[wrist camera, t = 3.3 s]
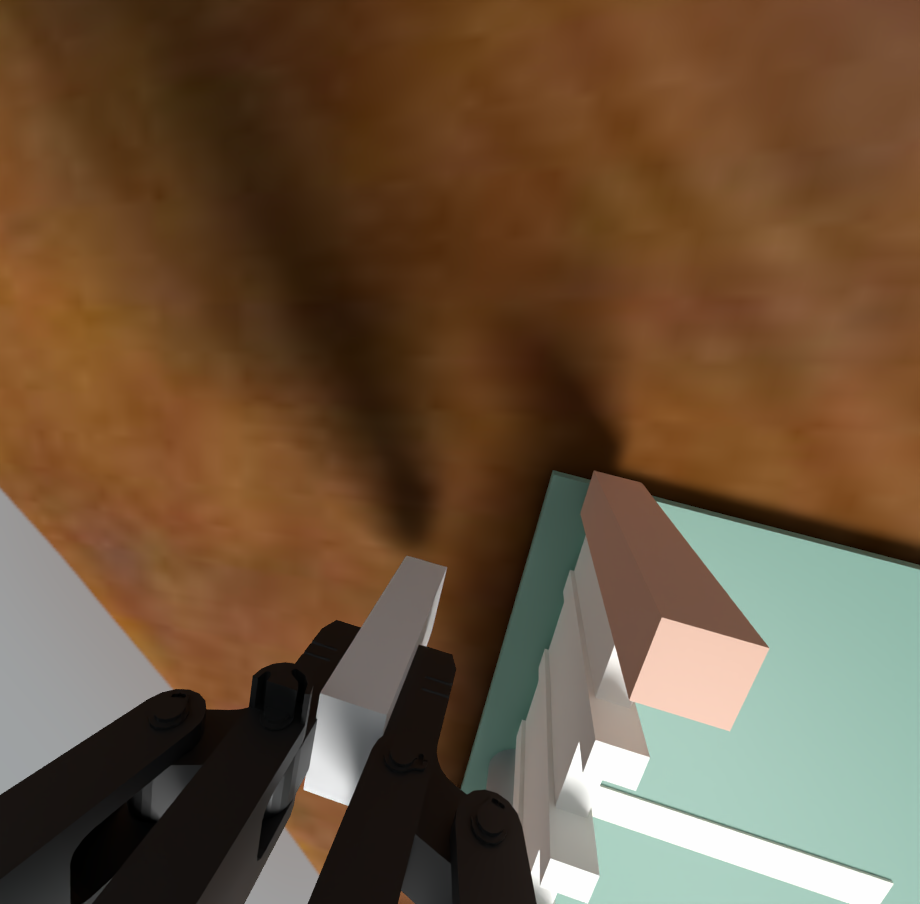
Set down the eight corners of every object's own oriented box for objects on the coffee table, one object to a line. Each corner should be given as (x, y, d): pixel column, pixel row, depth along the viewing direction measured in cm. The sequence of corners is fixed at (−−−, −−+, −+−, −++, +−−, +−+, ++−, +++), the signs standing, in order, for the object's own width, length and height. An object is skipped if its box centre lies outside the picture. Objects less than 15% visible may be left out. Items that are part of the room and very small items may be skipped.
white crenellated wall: (593, 470, 15) (661, 617, 7) (641, 482, 15) (769, 647, 7) (508, 741, 18) (484, 1067, 10) (547, 754, 18) (555, 1095, 10)
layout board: (552, 470, 16) (553, 475, 16) (1174, 630, 14) (1206, 644, 13) (424, 914, 22) (420, 931, 22) (842, 1072, 20) (853, 1097, 20)
